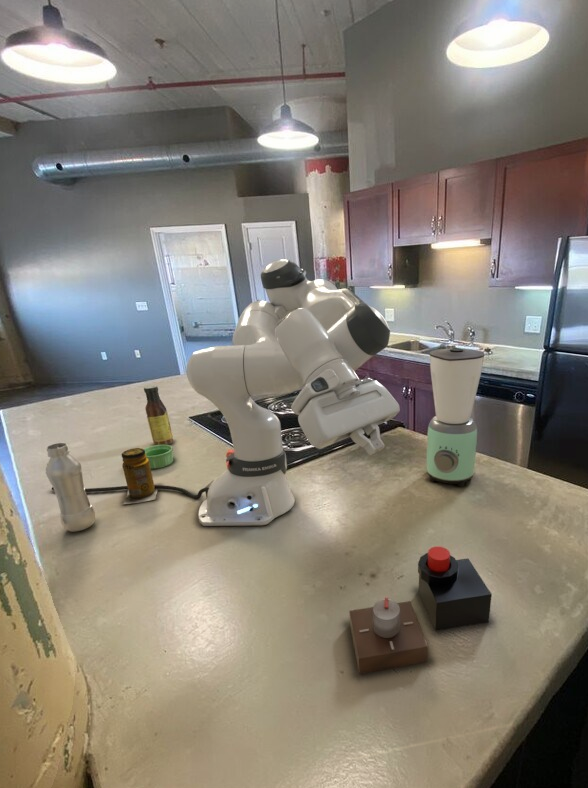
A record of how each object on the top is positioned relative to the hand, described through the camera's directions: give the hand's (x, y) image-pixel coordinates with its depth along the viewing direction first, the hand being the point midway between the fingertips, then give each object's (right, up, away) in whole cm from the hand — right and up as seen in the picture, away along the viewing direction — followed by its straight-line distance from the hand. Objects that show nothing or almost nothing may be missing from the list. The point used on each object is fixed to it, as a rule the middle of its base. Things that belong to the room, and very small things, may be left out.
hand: (377, 451), depth 71 cm
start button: (+10, -19, -2) cm, 22 cm away
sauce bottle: (-71, -1, +70) cm, 100 cm away
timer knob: (+1, -26, -9) cm, 28 cm away
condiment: (-61, -13, +37) cm, 72 cm away
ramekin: (-65, -6, +55) cm, 86 cm away
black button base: (+13, -26, -1) cm, 29 cm away
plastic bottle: (-67, -19, +24) cm, 73 cm away
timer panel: (+1, -29, -8) cm, 30 cm away
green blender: (+21, -9, +44) cm, 50 cm away
